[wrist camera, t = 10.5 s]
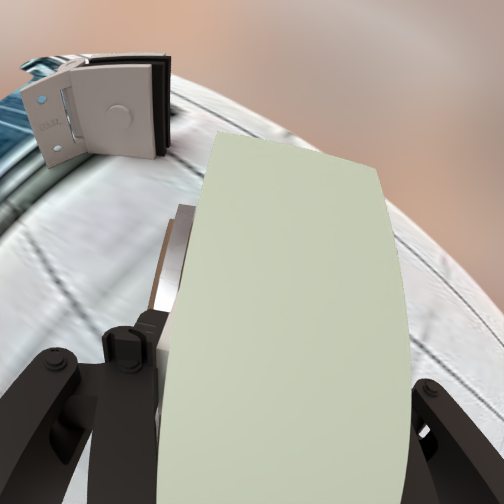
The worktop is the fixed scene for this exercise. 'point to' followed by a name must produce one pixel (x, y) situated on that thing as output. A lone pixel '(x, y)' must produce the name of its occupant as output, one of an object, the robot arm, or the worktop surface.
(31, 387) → the robot arm
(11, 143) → the worktop surface
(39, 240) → the worktop surface
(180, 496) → the door panel
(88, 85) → the hinge
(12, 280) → the worktop surface
